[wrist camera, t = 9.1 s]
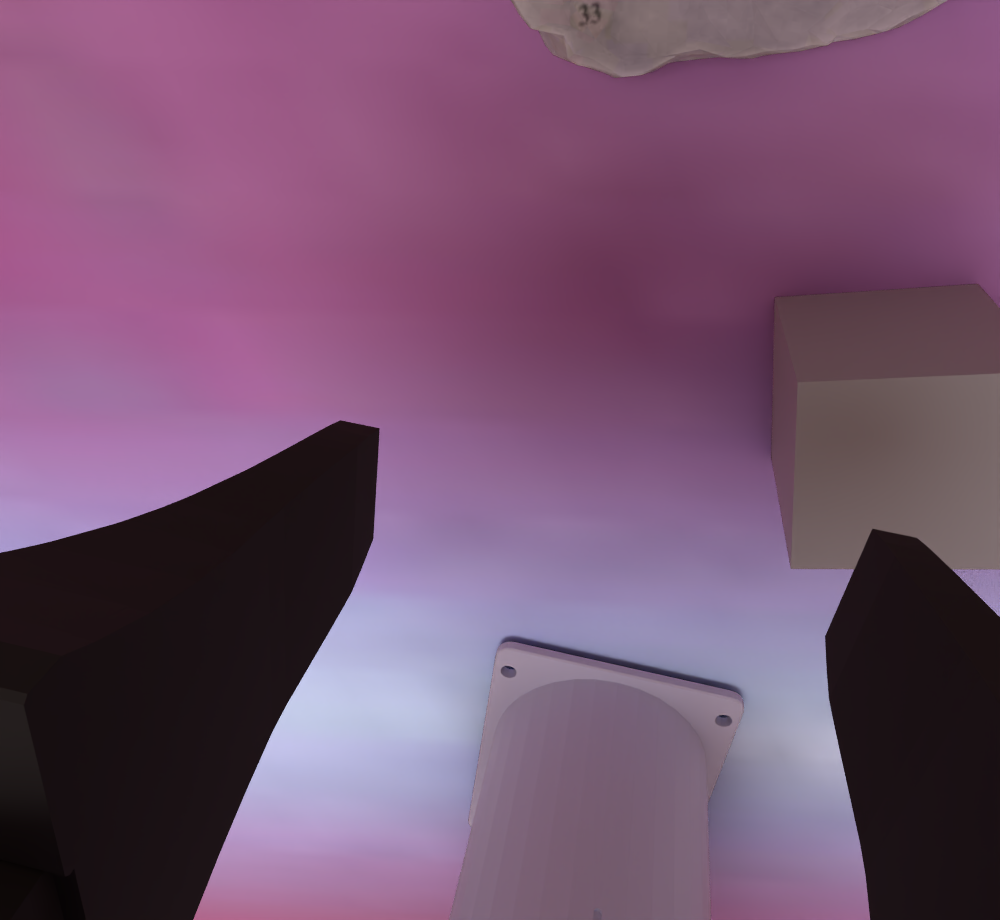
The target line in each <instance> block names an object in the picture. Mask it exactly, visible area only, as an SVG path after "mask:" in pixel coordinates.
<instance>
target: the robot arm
mask: <svg viewBox="0 0 1000 920" xmlns="http://www.w3.org/2000/svg"><path fill="white" fill-rule="evenodd" d="M378 446H379V428H375V427H370V426H365V425H360V424H355V423H351V422H346V421H341V420H340V421H338V422H336V423H334V424H332V425H330V426H328V427H326V428H324V429H322V430H320V431H318V432H316V433H315V434H313V435H311V436H309V437H307V438H305V439H304V440H302V441H300V442H298V443H296V444H294V445H293V446H291V447H289V448H287V449H285V450H283V451H282V452H280V453H278V454H276V455H274V456H272V457H270V458H268V459H266V460H265V461H263V462H261V463H259V464H257V465H255V466H253V467H251V468H249V469H247V470H245V471H243V472H241V473H239V474H237V475H235V476H233V477H230V478H228V479H226V480H224V481H222V482H220V483H218V484H215V485H213V486H211V487H209V488H207V489H205V490H203V491H200V492H198V493H196V494H194V495H192V496H189V497H187V498H185V499H182V500H180V501H177V502H175V503H172V504H170V505H167V506H165V507H162V508H159V509H157V510H154V511H151V512H148V513H145V514H142V515H140V516H137V517H134V518H131V519H128V520H125V521H122V522H119V523H116V524H113V525H109V526H106V527H102V528H98V529H95V530H91V531H88V532H84V533H80V534H77V535H73V536H70V537H66V538H63V539H59V540H55V541H52V542H48V543H44V544H39V545H35V546H30V547H26V548H21V549H16V550H12V551H7V552H2V553H0V920H193V919H194V916H195V914H196V911H197V909H198V906H199V904H200V901H201V899H202V896H203V894H204V891H205V889H206V886H207V884H208V881H209V879H210V876H211V874H212V871H213V869H214V866H215V864H216V861H217V859H218V856H219V854H220V851H221V849H222V846H223V844H224V842H225V839H226V837H227V835H228V832H229V830H230V828H231V825H232V823H233V820H234V818H235V816H236V813H237V811H238V809H239V806H240V804H241V801H242V799H243V797H244V794H245V792H246V790H247V787H248V785H249V783H250V781H251V778H252V776H253V774H254V772H255V769H256V767H257V765H258V763H259V760H260V758H261V756H262V754H263V751H264V749H265V747H266V745H267V742H268V740H269V738H270V736H271V734H272V731H273V729H274V728H275V726H276V724H277V722H278V720H279V718H280V716H281V714H282V712H283V710H284V708H285V706H286V705H287V703H288V701H289V700H290V698H291V696H292V694H293V693H294V691H295V689H296V688H297V686H298V684H299V682H300V681H301V679H302V677H303V676H304V674H305V672H306V670H307V669H308V667H309V665H310V664H311V662H312V660H313V658H314V657H315V655H316V653H317V652H318V650H319V648H320V646H321V645H322V643H323V641H324V640H325V638H326V636H327V634H328V633H329V631H330V629H331V628H332V626H333V624H334V622H335V621H336V619H337V617H338V615H339V614H340V612H341V610H342V608H343V607H344V605H345V603H346V601H347V599H348V598H349V596H350V594H351V592H352V590H353V588H354V585H355V583H356V580H357V578H358V576H359V573H360V571H361V569H362V566H363V563H364V561H365V558H366V556H367V553H368V551H369V548H370V546H371V543H372V541H373V533H374V516H375V498H376V481H377V463H378ZM825 642H826V663H827V678H828V691H829V701H830V706H831V711H832V716H833V720H834V725H835V730H836V735H837V739H838V744H839V749H840V754H841V758H842V763H843V767H844V772H845V776H846V781H847V785H848V790H849V794H850V799H851V803H852V808H853V812H854V817H855V821H856V826H857V831H858V835H859V840H860V845H861V851H862V856H863V862H864V868H865V874H866V883H867V892H868V902H869V911H870V920H1000V617H999V616H998V615H997V614H996V613H995V612H994V611H993V610H992V609H991V608H990V607H989V606H988V605H987V604H986V603H985V602H984V601H983V600H982V599H981V598H980V597H979V596H978V595H977V594H976V593H975V592H974V591H973V590H972V589H971V588H970V587H969V586H968V585H967V584H966V583H965V582H964V581H963V580H962V579H961V578H960V577H959V576H958V575H957V574H956V573H955V572H954V571H953V570H952V569H951V568H950V567H949V566H948V565H946V564H945V563H944V562H943V561H942V560H941V559H940V558H939V557H938V556H937V555H936V554H935V553H934V552H933V551H932V550H931V549H930V548H928V547H927V546H926V545H925V544H924V543H923V542H921V541H920V540H919V539H918V538H916V537H911V536H906V535H901V534H896V533H892V532H887V531H882V530H877V529H872V530H871V533H870V535H869V537H868V539H867V542H866V544H865V546H864V549H863V551H862V553H861V556H860V558H859V560H858V562H857V565H856V567H855V569H854V572H853V574H852V576H851V578H850V581H849V583H848V585H847V588H846V590H845V592H844V595H843V597H842V599H841V601H840V604H839V606H838V608H837V611H836V613H835V615H834V617H833V620H832V622H831V624H830V627H829V629H828V631H827V634H826V636H825ZM505 666H511V667H513V668H514V669H508V668H506V667H505ZM743 712H744V702H743V699H742V697H741V696H740V695H739V694H738V693H736V692H733V691H731V690H726V689H722V688H717V687H713V686H708V685H704V684H699V683H695V682H690V681H686V680H681V679H677V678H673V677H668V676H664V675H659V674H655V673H650V672H646V671H641V670H637V669H632V668H628V667H623V666H619V665H615V664H610V663H606V662H601V661H597V660H592V659H588V658H583V657H579V656H574V655H570V654H565V653H561V652H557V651H552V650H548V649H543V648H539V647H534V646H530V645H525V644H521V643H516V642H505V643H502V644H501V645H500V646H499V647H498V649H497V653H496V657H495V663H494V669H493V675H492V681H491V687H490V693H489V699H488V705H487V711H486V717H485V723H484V729H483V735H482V741H481V747H480V753H479V759H478V765H477V771H476V777H475V783H474V789H473V795H472V801H471V807H470V813H469V820H468V822H469V825H470V826H471V831H470V835H469V839H468V844H467V848H466V852H465V856H464V860H463V864H462V868H461V872H460V876H459V880H458V884H457V889H456V893H455V897H454V901H453V905H452V909H451V913H450V917H449V920H711V900H710V866H709V831H708V801H709V799H710V796H711V794H712V791H713V789H714V786H715V784H716V781H717V779H718V776H719V773H720V771H721V768H722V766H723V763H724V761H725V758H726V756H727V753H728V751H729V748H730V745H731V743H732V740H733V738H734V735H735V733H736V730H737V728H738V725H739V723H740V720H741V718H742V715H743ZM719 715H727V716H728V717H719Z"/></svg>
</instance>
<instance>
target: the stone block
mask: <svg viewBox="0 0 1000 920" xmlns="http://www.w3.org/2000/svg"><path fill="white" fill-rule="evenodd" d="M511 1H512V3H513V4H514V6H515V8H516V10H517V12H518V13H519V15H520V16H521V17H522V19H523V20H524V21H525V22H526V24H527V25H528V26H529V27H530V28H531V29H535V30H538V31H539V33H540V35H541V37H542V39H543V41H544V43H545V45H546V47H547V48H548V49H549V50H550V51H551V53H552V54H553V55H555V56H557V57H559V58H562V59H564V60H567V61H569V62H572V63H574V64H576V65H579V66H584V67H587V68H590V69H593V70H596V71H600V72H604V73H606V74H608V75H610V76H612V77H614V78H618V77H630V76H638V75H643V74H646V73H649V72H653V71H655V70H657V69H659V68H661V67H663V66H664V65H666V64H668V63H672V62H678V61H687V60H696V59H705V58H715V57H722V58H738V59H742V58H756V57H759V56H764V55H771V54H778V53H787V52H797V51H803V50H807V49H812V48H816V47H821V46H827V45H829V44H830V43H832V42H837V41H844V40H851V39H857V38H861V37H865V36H869V35H873V34H877V33H881V32H885V31H888V30H892V29H895V28H898V27H901V26H902V25H904V24H906V23H908V22H910V21H912V20H914V19H916V18H918V17H920V16H922V15H923V14H925V13H927V12H929V11H930V10H932V9H934V8H935V7H937V6H939V5H940V4H942V3H944V2H946V1H947V0H511Z"/></svg>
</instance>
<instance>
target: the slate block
mask: <svg viewBox="0 0 1000 920" xmlns="http://www.w3.org/2000/svg"><path fill="white" fill-rule="evenodd" d="M771 459H772V465H773V471H774V476H775V482H776V488H777V493H778V499H779V505H780V510H781V516H782V522H783V527H784V533H785V539H786V544H787V550H788V556H789V561H790V567H791V569H855V567H856V565H857V562H858V560H859V558H860V556H861V553H862V551H863V549H864V546H865V544H866V542H867V539H868V537H869V535H870V533H871V530H872V529H877V530H882V531H887V532H892V533H896V534H901V535H906V536H911V537H916V538H918V539H919V540H920V541H921V542H923V543H924V544H925V545H926V546H927V547H928V548H930V549H931V550H932V551H933V552H934V553H935V554H936V555H937V556H938V557H939V558H940V559H941V560H942V561H943V562H944V563H945V564H946V565H948V566H949V567H950V568H951V569H1000V308H999V307H998V306H997V304H996V303H995V302H994V301H993V300H992V299H991V298H990V297H989V296H988V295H987V293H986V292H985V291H984V290H983V289H982V288H981V287H980V286H979V285H978V284H967V285H952V286H937V287H922V288H907V289H891V290H876V291H861V292H846V293H831V294H815V295H800V296H785V297H775V305H774V351H773V397H772V443H771Z"/></svg>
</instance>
